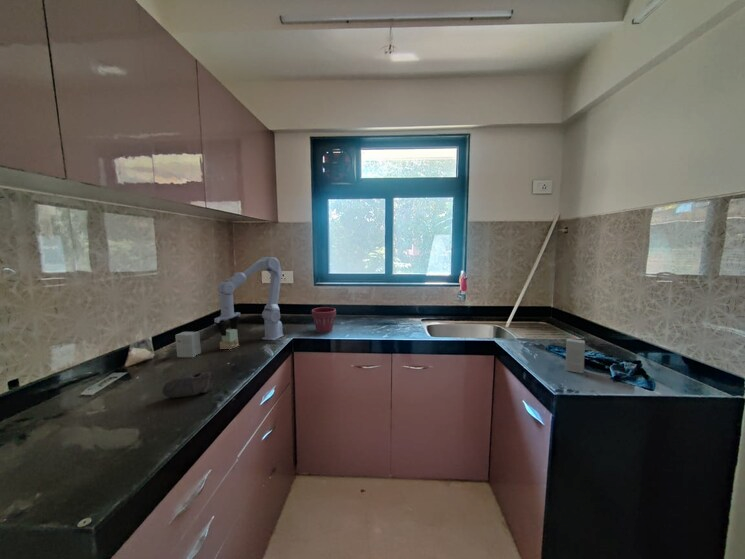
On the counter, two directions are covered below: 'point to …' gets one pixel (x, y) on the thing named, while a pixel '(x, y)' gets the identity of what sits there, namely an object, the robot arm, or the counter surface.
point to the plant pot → (324, 318)
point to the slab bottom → (230, 347)
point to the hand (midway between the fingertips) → (228, 333)
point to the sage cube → (230, 335)
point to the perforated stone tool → (189, 385)
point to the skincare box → (575, 355)
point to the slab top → (228, 343)
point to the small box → (188, 344)
